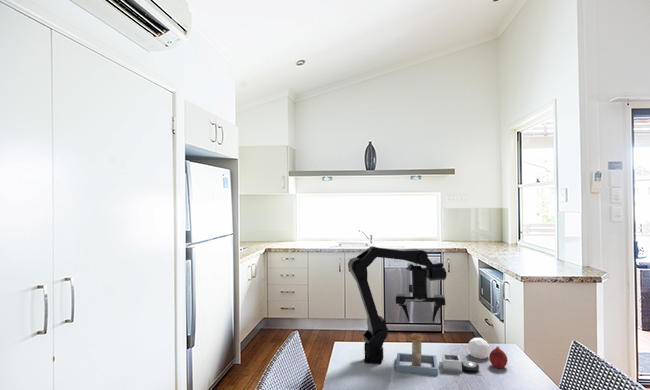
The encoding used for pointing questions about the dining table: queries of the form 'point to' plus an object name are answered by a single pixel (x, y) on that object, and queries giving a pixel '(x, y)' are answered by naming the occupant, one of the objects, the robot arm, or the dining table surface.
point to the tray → (416, 368)
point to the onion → (498, 358)
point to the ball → (478, 348)
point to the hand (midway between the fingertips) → (420, 321)
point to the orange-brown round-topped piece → (416, 349)
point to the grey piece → (458, 365)
